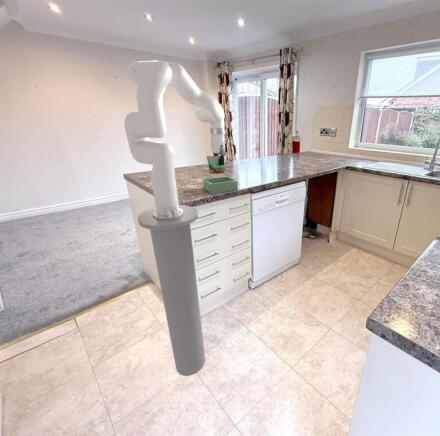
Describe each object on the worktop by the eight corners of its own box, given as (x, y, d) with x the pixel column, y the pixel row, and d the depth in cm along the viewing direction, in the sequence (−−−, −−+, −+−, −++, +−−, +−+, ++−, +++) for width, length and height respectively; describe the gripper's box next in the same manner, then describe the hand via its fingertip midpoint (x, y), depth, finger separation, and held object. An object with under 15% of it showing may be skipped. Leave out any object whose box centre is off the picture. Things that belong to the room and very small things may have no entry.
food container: (213, 175, 138) (212, 157, 134) (207, 173, 142) (206, 155, 138) (231, 172, 147) (230, 155, 143) (224, 170, 151) (224, 153, 147)
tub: (237, 189, 148) (237, 180, 146) (211, 194, 140) (210, 184, 137) (228, 184, 158) (228, 176, 156) (203, 188, 149) (202, 179, 147)
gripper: (204, 130, 140) (207, 162, 147) (217, 133, 127) (219, 167, 134) (217, 130, 144) (219, 161, 151) (230, 132, 131) (231, 166, 138)
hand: (219, 163), depth 143 cm, fingers closed on food container, 6 cm apart
